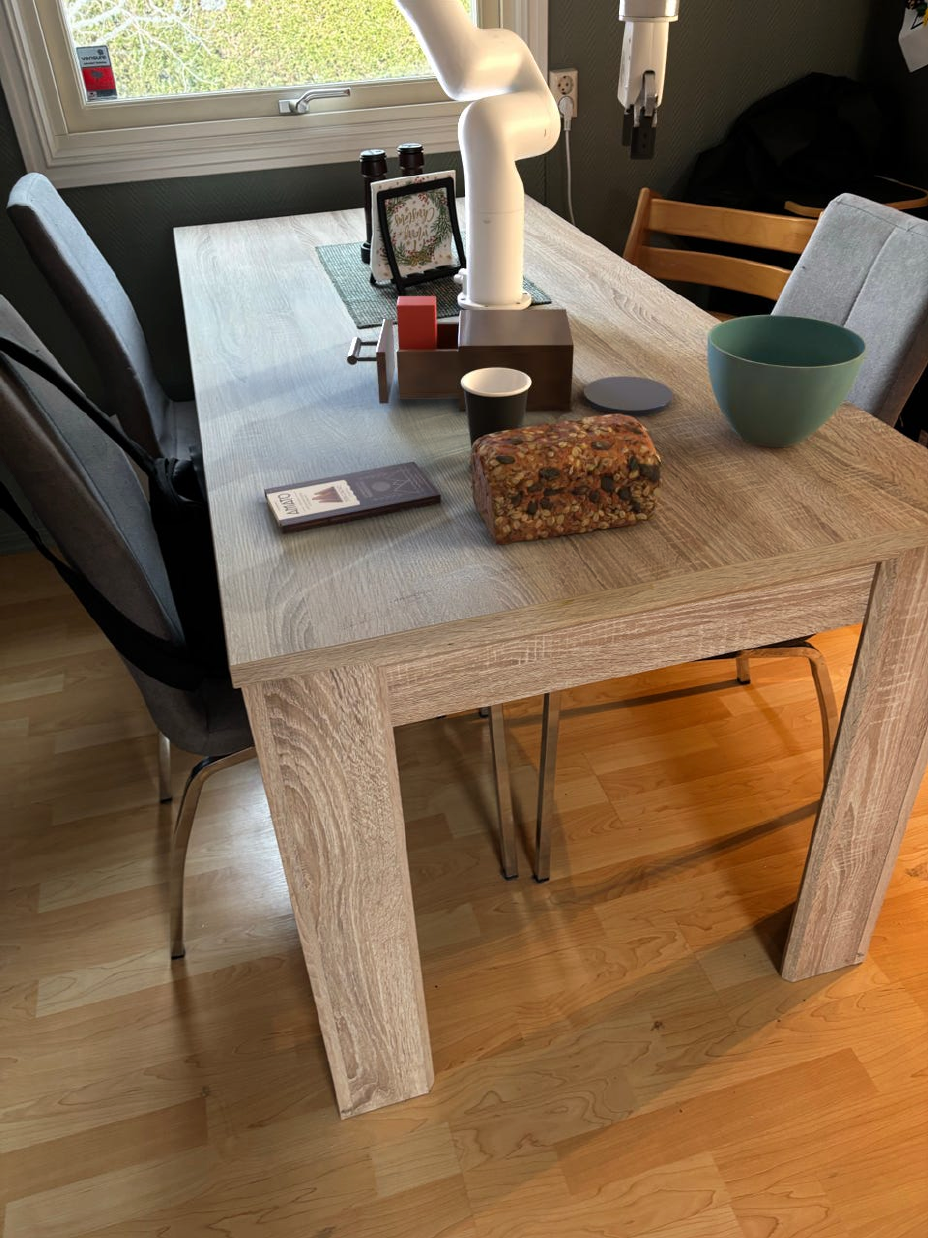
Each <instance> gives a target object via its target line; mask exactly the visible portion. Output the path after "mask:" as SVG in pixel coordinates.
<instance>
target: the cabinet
mask: <svg viewBox="0 0 928 1238" xmlns="http://www.w3.org/2000/svg"><path fill="white" fill-rule="evenodd" d="M459 322H460V323H459V344H458V352H459V398H458V403H459V405H458V407H459V408H458V409H459V413H460V412H461V413H462V412H463V413H465V412H466V413H467V410H466V402H465V394H464V388H463V387H462V385H461V380H462V378H463V377H464V376H465V375H466V374H468V373H470V372H472V371H475V370H479V369H485V368H507V369H513V370H517V371H520V372H523V373H525V374H526V375H527V376H529V378H530V379H531V385H530V387H529V388H528V394H527V401H526V408H525V412H570V411H571V409H572V393H573V392H572V391H573V375H574V374H573V371H574V356H575V355H574V354H575V352H574V351H575V343H574V339H573V335H572V329H571V325H570V321H569V316H568V313H567V309H566V308H556V309H555V308H553V309H551V308H550V309H548V308H547V309H544V308H543V309H541V308H540V309H522V310H466V309H460V310H459Z"/></svg>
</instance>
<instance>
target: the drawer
mask: <svg viewBox="0 0 928 1238" xmlns="http://www.w3.org/2000/svg"><path fill="white" fill-rule="evenodd" d="M459 323H460V321H437V349H423V350H399V349H396V356H395V341H394V340H395V338H394V322H393V318H384V319H383V322H382V326H381V330H380V334H379V339H378V340H363V339H362V338H360V337H358V336H357V337H354V338H353V339H352V340H351V344H350V347H349V351H348V354H347V357H346V363H347V364H349V365H350V366H355V365H356V364H357V363H358V362H359V363H360V362H363V363H365V362H368V363H369V362H376V373H377V390H378V403H379V405H381V404H382V405H388V404H389V402H390V397H391V391H392V385H393V381H394V375H395V370H396V367H397V384H398V385H397V386H398V387H397V388H398V399H399V400H400V399H401V400H403V399H404V400H409V399H411V400H412V399H416V400H418V399H422V400H423V399H459V352H458V344H459ZM362 347H376V351H375V355H360V354H361V350H362ZM395 357H396V358H395ZM395 359H396V360H395Z"/></svg>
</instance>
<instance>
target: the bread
mask: <svg viewBox="0 0 928 1238" xmlns="http://www.w3.org/2000/svg"><path fill="white" fill-rule="evenodd" d="M647 430H648V429H647V428H645V427H644V425H643V424H642V423H640V422H639V421H638V420H637V418H635V416H630V415H623V414H609V413H608V414H605V415H594V416H593V415H592V416H587V417H582V418H578V419H577V418H576V419H571V418H568V419H565V420H561V421H557V422H548V423H546V424H544V423H540V424H539V425H536V426H535V425H533V426H526V427H523V428H518V429H514V430H506V431H501V432H495V433H492V434H487V435H484V436H483V437H482V438H478V439H477V440H476V441H475V442H474V443H473V446H472V448H471V447H470V456H469V463H470V464H469V469H470V472H469V477H470V481H469V483H470V485H471V486H470V489H471V490H472V491H471V492H472V501H473V504H474V506H475V508H477V511H478V515H479V517H481V519H483V520H484V522H485V525H486V529H487V531H488V533H489V534H490V536H491V538H492V540H493V541H494V542H495V544H499V545H507V544H511V543H513V542H518V541H519V542H520V541H522V542H523V541H533V540H537V539H539V538H540V539H549V538H550V539H551V538H554V537H556V536H564V535H573V534H581V533H585V532H592V531H594V530H595V529H602V530H606V529H610V528H611V529H612V528H620V527H625V526H630V525H631V526H633V525H635V524H637V523H638V522H639V521H641V522H648V521H649V520H651V519H653V518H654V517H655V513H656V507H657V505H658V504H657V502H658V499H659V496H660V494H661V492H662V490H661V487H662V484H663V480H662V476H661V473H662V469H663V467H664V466H663V465H662V461H661V457H660V455H659V454H658V452H657V451H656V448H655V445H654V443H653V441H652V439H651V437H650V435H649V434H648V431H647Z"/></svg>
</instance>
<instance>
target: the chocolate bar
mask: <svg viewBox="0 0 928 1238" xmlns="http://www.w3.org/2000/svg"><path fill="white" fill-rule="evenodd" d="M263 490H264V491H263V492H264V497H265V499H266V502H267V504H268V506H269V508H270V510H271V512H272V514H273V516H274V518H275V520H276V522H277V524H278V527H279V528H280V531H281V533H282V534H288V533H293V532H298V531H303V530H308V529H313V528H318V527H323V526H328V525H334V524H337V523H343V522H349V521H353V520H359V519H363V518H369V517H372V516H373V517H374V516H378V515H383V514H388V513H392V512H398V511H402V510H403V511H404V510H408V509H413V508H418V507H425V506H428V505H434V504H437V503H438V504H439V503H442V494H441V493H440V491H439V490H438V489H437V488H436V486H435V485H434V484H433V483H432V482H431V480H430V479H429V478H428V476H427V475H426V474H425V473H424V472H423V470H422V469H421V468H420V467H419V465H418V464H417V463H416V462H415V461H409V462H404V463H397V464H393V465H388V466H382V467H377V468H371V469H366V470H360V471H354V472H349V473H345V474H338V475H335V476H328V477H323V478H318V479H313V480H306V481H302V482H296V483H290V484H285V485H280V486H274V487H269V488H263Z"/></svg>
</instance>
